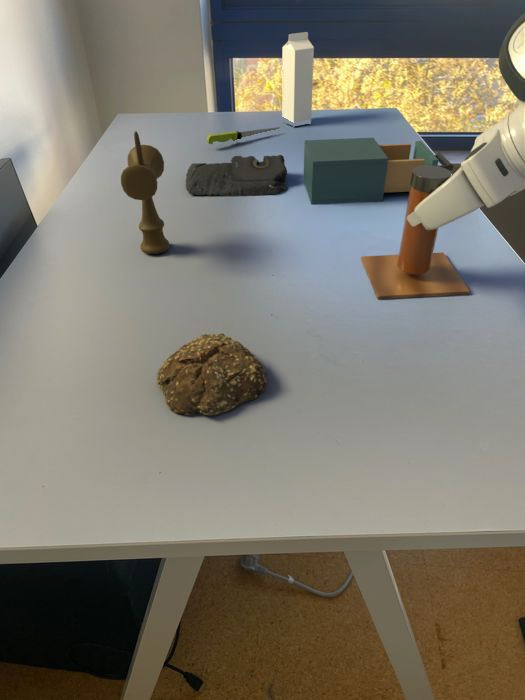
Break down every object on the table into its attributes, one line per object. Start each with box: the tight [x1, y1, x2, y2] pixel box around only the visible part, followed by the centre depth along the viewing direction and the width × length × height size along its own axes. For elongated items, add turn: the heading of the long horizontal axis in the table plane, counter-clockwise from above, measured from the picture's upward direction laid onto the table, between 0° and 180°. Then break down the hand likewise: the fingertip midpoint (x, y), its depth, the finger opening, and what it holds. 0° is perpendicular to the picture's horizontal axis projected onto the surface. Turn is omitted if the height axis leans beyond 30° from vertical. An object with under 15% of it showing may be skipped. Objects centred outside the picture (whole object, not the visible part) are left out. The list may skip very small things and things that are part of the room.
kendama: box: [120, 130, 170, 255], centre depth 84 cm, size 6×10×20 cm, turn 3°
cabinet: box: [302, 137, 388, 205], centre depth 106 cm, size 15×13×9 cm
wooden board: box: [360, 252, 471, 300], centre depth 82 cm, size 14×12×1 cm
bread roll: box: [155, 333, 267, 417], centre depth 63 cm, size 13×12×5 cm
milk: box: [281, 31, 315, 123], centre depth 139 cm, size 6×6×22 cm
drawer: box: [378, 140, 454, 194], centre depth 107 cm, size 18×11×7 cm, turn 94°
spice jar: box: [397, 165, 452, 274], centre depth 76 cm, size 5×5×15 cm
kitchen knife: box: [206, 126, 281, 145], centre depth 134 cm, size 22×1×3 cm, turn 124°
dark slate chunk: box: [185, 154, 288, 197], centre depth 112 cm, size 15×22×5 cm
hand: (419, 212), depth 76 cm, fingers closed on spice jar, 5 cm apart
